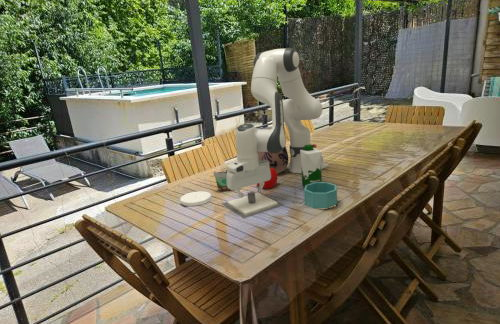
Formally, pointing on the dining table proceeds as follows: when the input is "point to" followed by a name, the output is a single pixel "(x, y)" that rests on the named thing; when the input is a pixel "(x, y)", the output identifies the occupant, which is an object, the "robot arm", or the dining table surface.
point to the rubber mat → (252, 213)
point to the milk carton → (310, 165)
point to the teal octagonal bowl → (320, 195)
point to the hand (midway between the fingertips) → (250, 194)
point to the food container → (222, 180)
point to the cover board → (252, 203)
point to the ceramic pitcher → (275, 157)
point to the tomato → (272, 181)
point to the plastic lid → (195, 198)
